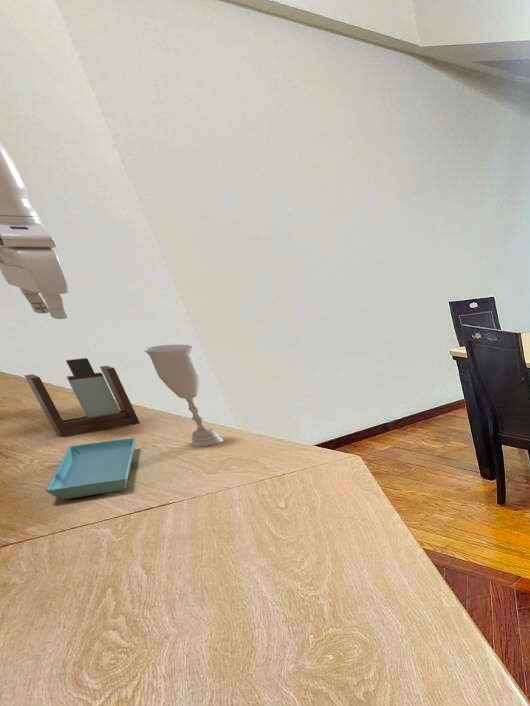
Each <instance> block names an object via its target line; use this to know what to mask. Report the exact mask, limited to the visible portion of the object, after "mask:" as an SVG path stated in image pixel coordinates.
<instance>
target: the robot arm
mask: <svg viewBox="0 0 530 706" xmlns="http://www.w3.org/2000/svg"><path fill="white" fill-rule="evenodd" d="M57 247H58V246H57V243H56V240H55V238H54V237H53V235H52V234H51V233H50V232H48V231H47V229H46V227H45V226H44V224H43V222H42V219H41V216H40V215H39V214H38V212H37V210H35V208H34V207H33V205H32V204H31V202H30V200H29V197H28V190H27V186H26V184H25V182H24V180H23V178H22V175H21V173H20V172H19V170H18V167H17V166H16V163H15V162H14V160H13V159H12V156H11V155H10V153H9V151H8V150H7V148H6V147H5V146H4V144H3V143H2V142H1V141H0V272H1V274H2V276H3V278H4V280H5V281H6V283H7V284H8V285H10V286H13V287H16V288H19V289H20V291H21V294H22V295H23V296H24V298H25V299H26V300H27V302H28V303H29V305H30V307H31V308H32V311H33V312H34V313H36V314H48V313H49V315H50V317H51V318H53V319H55V320H65V319H67V318H68V315H67V313H66V311H65V309H64V304H63V298H62V296H61V295H65V294H68V293H69V284H68V281H67V278H66V276H65V273H64V270H63V267H62V265H61V261H60V259H59V257H58V255H57V253H56V251H55V249H56V248H57ZM44 301H45V302H44Z"/></svg>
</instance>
